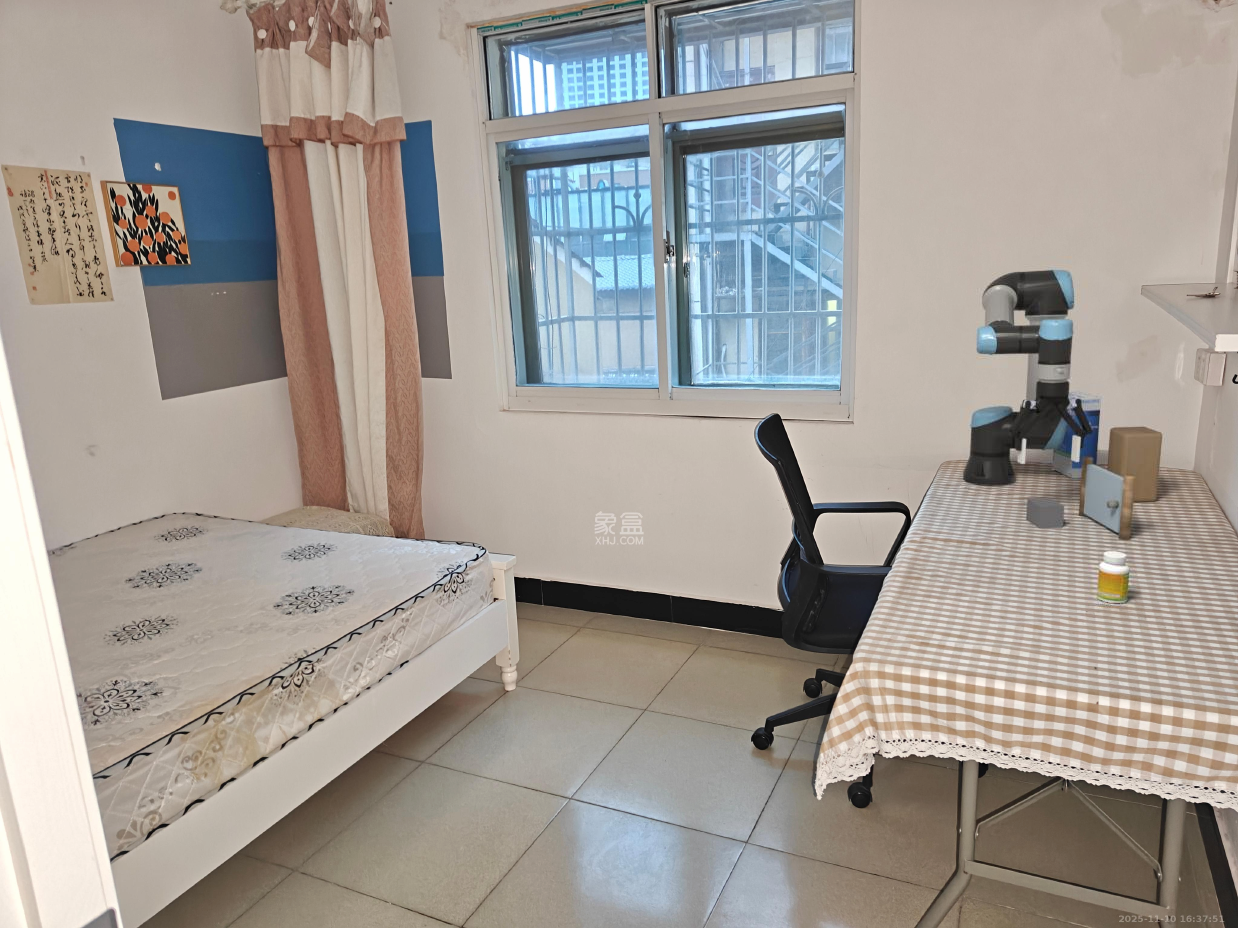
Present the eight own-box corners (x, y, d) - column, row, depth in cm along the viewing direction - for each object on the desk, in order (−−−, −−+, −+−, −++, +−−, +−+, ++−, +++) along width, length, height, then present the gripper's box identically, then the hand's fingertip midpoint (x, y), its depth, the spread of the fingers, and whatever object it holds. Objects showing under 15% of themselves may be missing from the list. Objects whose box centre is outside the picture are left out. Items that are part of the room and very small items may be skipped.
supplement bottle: (1126, 605, 167) (1130, 560, 165) (1095, 601, 170) (1099, 556, 168) (1127, 596, 171) (1131, 551, 169) (1097, 592, 174) (1100, 548, 172)
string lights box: (1096, 478, 262) (1102, 396, 256) (1072, 479, 262) (1078, 398, 256) (1073, 468, 275) (1078, 390, 269) (1050, 469, 275) (1055, 392, 269)
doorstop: (1026, 520, 225) (1027, 498, 223) (1049, 519, 224) (1050, 497, 223) (1039, 528, 217) (1040, 506, 216) (1062, 528, 217) (1064, 505, 215)
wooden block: (1139, 493, 243) (1145, 425, 239) (1157, 502, 234) (1164, 432, 229) (1103, 493, 244) (1108, 427, 240) (1120, 503, 235) (1125, 433, 230)
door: (1076, 513, 224) (1079, 464, 221) (1089, 513, 224) (1093, 464, 221) (1108, 532, 208) (1112, 480, 205) (1123, 532, 207) (1128, 479, 204)
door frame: (1077, 514, 227) (1081, 456, 223) (1086, 513, 227) (1090, 456, 223) (1122, 540, 205) (1127, 477, 201) (1132, 540, 204) (1137, 476, 201)
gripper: (1008, 384, 209) (1004, 466, 214) (1111, 380, 208) (1105, 463, 212) (997, 380, 217) (993, 460, 221) (1096, 376, 215) (1090, 457, 220)
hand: (1048, 462), depth 217 cm, fingers open, 13 cm apart
